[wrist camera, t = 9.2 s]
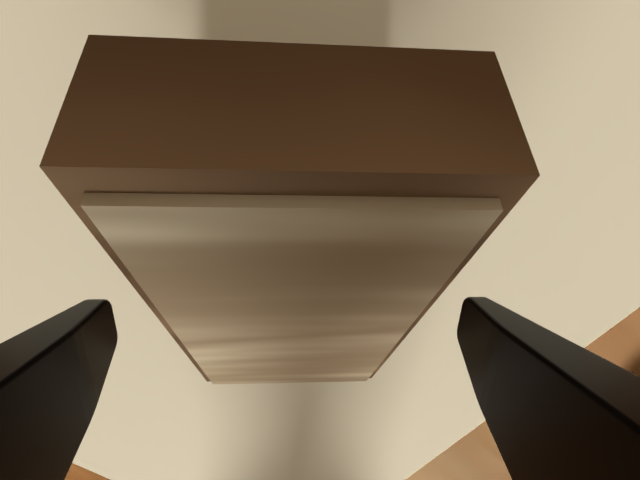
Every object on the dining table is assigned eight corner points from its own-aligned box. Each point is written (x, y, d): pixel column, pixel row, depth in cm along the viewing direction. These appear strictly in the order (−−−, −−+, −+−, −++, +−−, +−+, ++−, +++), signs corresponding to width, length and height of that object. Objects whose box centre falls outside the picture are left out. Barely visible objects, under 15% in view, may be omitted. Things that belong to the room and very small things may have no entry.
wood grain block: (372, 383, 16) (544, 188, 5) (206, 387, 15) (33, 180, 5) (365, 316, 17) (495, 51, 6) (213, 317, 16) (88, 35, 6)
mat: (295, 552, 24) (295, 560, 24) (-185, 338, 16) (-196, 345, 16) (768, 200, 16) (779, 204, 16) (299, -548, 8) (300, -575, 8)
